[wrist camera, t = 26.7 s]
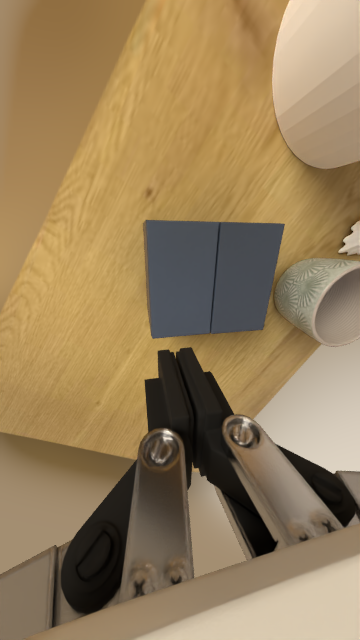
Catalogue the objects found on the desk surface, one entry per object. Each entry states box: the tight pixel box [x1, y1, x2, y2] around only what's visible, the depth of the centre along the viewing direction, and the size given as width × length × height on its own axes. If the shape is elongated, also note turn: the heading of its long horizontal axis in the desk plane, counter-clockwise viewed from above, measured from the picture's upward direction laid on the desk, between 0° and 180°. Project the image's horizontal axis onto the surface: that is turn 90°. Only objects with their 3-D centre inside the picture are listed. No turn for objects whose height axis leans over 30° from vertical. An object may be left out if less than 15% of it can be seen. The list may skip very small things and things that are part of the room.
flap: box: [147, 220, 219, 339], centre depth 23 cm, size 7×13×1 cm, turn 179°
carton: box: [143, 220, 285, 336], centre depth 28 cm, size 15×13×10 cm
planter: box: [274, 258, 360, 347], centre depth 33 cm, size 12×12×11 cm
